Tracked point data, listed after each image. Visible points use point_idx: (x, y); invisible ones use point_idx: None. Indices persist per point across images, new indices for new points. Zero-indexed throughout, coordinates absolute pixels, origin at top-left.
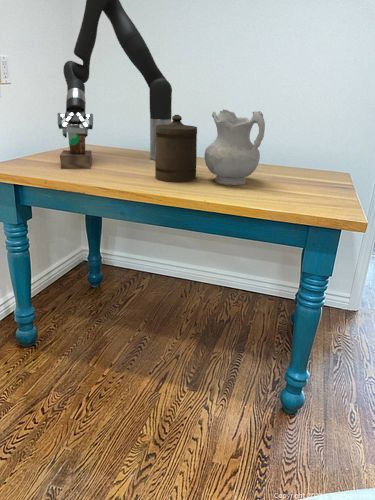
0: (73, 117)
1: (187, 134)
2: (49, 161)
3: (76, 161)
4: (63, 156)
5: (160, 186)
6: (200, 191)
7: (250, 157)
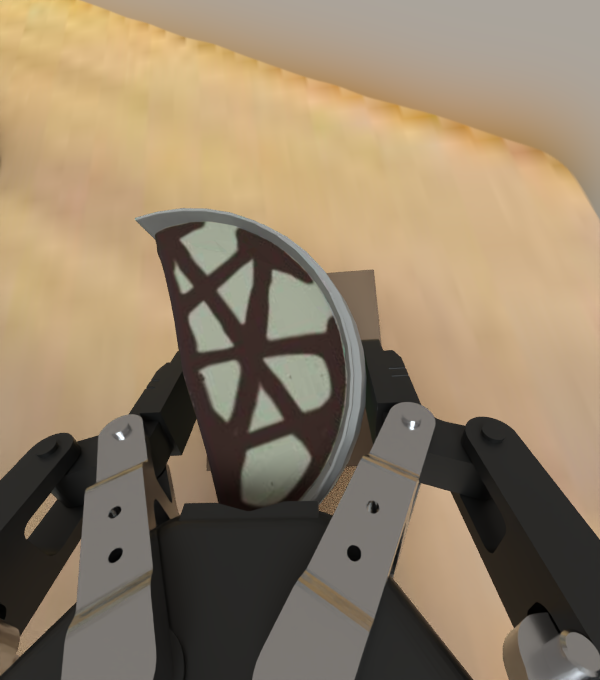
0: (269, 606)
1: None
2: None
3: None
4: (352, 273)
5: (11, 69)
6: None
7: None
